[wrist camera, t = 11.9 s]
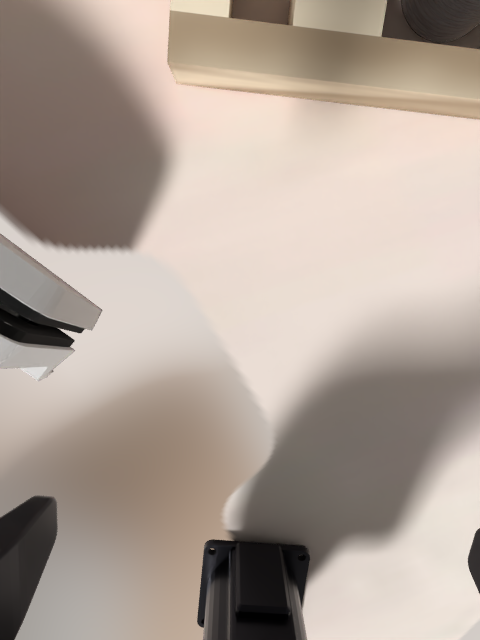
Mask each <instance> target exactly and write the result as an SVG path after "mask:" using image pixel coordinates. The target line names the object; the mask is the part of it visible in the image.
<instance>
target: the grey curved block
mask: <svg viewBox="0 0 480 640" xmlns="http://www.w3.org/2000/svg"><path fill="white" fill-rule="evenodd" d="M101 312H102V309H100V308H99V307H98V306H96V305H95V304H94V303H92V302H91V301H90V300H88V299H87V298H86V297H84V296H83V295H82V294H80V293H79V292H77V291H76V290H75V289H74V288H72V287H71V286H70V285H68V284H67V283H66V282H64V281H63V280H62V279H60V278H59V277H58V276H56V275H55V274H54V273H52V272H51V271H49V270H48V269H47V268H46V267H44V266H43V265H42V264H40V263H39V262H38V261H36V260H35V259H34V258H32V257H31V256H29V255H28V254H27V253H25V252H24V251H23V250H22V249H20V248H19V247H18V246H16V245H15V244H14V243H12V242H11V241H10V240H8V239H7V238H5V237H4V236H3V235H2V234H0V369H7V368H20V369H21V370H23V371H24V372H26V373H27V374H28V375H30V376H31V377H33V378H34V379H36V380H37V381H40V380H42V379H44V378H46V377H48V376H49V375H50V374H51V373H52V372H53V369H54V368H55V367H56V366H58V365H59V364H60V363H61V362H62V361H64V360H65V359H66V358H67V357H68V356H69V355H71V354H72V353H73V352H74V351H75V350H74V349H73V348H71V347H70V346H71V345H72V343H73V342H74V340H73V339H72V338H71V337H69V336H68V335H66V334H65V333H63V332H62V331H61V330H60V329H64V330H69V331H73V332H77V333H82V331H83V330H84V329H89V330H92V329H93V327H94V326H95V324H96V322H97V320H98V318H99V316H100V314H101ZM58 328H60V329H58Z"/></svg>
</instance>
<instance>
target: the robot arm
mask: <svg viewBox="0 0 480 640" xmlns="http://www.w3.org/2000/svg"><path fill="white" fill-rule="evenodd" d="M56 536H57V502H56V499H55V498H54V497H51V496H34V497H32V498H30V499H28V500H27V501H26V502H24V503H22V504H21V505H19V506H17V507H16V508H14V509H13V510H11V511H10V512H8V513H7V514H5V515H3V516H2V517H0V640H14V639H15V637H16V635H17V633H18V631H19V629H20V627H21V625H22V623H23V620H24V618H25V615H26V613H27V611H28V608H29V606H30V603H31V600H32V598H33V595H34V593H35V591H36V588H37V586H38V583H39V581H40V578H41V575H42V573H43V570H44V568H45V566H46V563H47V560H48V558H49V555H50V553H51V550H52V548H53V545H54V543H55V540H56ZM210 548H214V550H211V549H210ZM301 554H303V555H302V556H299V555H301ZM309 560H310V555H309V551H308V549H307V548H306V547H305V546H298V545H283V544H269V543H254V542H240V541H225V540H209V541H207V542H206V543H205V545H204V555H203V566H202V576H201V577H202V578H201V587H200V598H199V608H198V620H197V622H198V624H199V626H201V627H204V636H203V640H307V637H306V631H305V625H304V620H303V614H302V608H301V605H302V599H303V594H304V588H305V583H306V577H307V571H308V566H309ZM468 566H469V570H470V572H471V575H472V577H473V579H474V582H475V584H476V586H477V589H478V591H479V593H480V528H479V529H478V530H477V531H476V533H475V536H474V540H473V543H472V546H471V549H470V553H469V556H468Z"/></svg>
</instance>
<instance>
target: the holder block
mask: <svg viewBox="0 0 480 640" xmlns="http://www.w3.org/2000/svg"><path fill="white" fill-rule="evenodd" d="M232 5H233V0H170V19H169V40H168V61H167V62H168V64H169V67H170V69H171V72H172V74H173V76H174V79H175V81H176V84H184V85H192V86H201V87H209V88H218V89H226V90H235V91H243V92H252V93H260V94H269V95H277V96H286V97H294V98H302V99H311V100H319V101H328V102H336V103H345V104H353V105H362V106H370V107H379V108H387V109H396V110H404V111H412V112H421V113H429V114H438V115H446V116H455V117H463V118H472V119H480V49H474V48H466V47H458V46H450V45H442V44H434V43H426V42H418V41H410V40H402V39H394V38H386V37H381V35H382V29H383V23H384V17H385V11H386V5H387V0H290V8H289V17H288V25H283V24H275V23H267V22H259V21H251V20H243V19H235V18H231V17H232Z"/></svg>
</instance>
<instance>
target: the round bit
mask: <svg viewBox="0 0 480 640" xmlns="http://www.w3.org/2000/svg"><path fill="white" fill-rule="evenodd" d="M401 2H402V8H403V12H404V15H405V17H406V20H407V21H408V23H409V25H410V26H411V27H412V29H413V30H414V31H415V32H416V33H417V34H419V35H420V36H421V37H423V38H425V39H427V40H430V41H434V42H448V41H453V40H456V39H458V38H460V37H462V36H464V35H465V34H467V33H468V32H469V31H471V30H472V29H473V28H474V27H476V26H477V25H478V24H479V23H480V0H401Z"/></svg>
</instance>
